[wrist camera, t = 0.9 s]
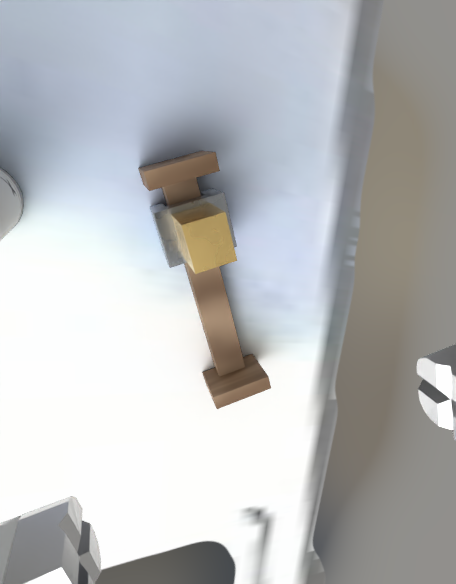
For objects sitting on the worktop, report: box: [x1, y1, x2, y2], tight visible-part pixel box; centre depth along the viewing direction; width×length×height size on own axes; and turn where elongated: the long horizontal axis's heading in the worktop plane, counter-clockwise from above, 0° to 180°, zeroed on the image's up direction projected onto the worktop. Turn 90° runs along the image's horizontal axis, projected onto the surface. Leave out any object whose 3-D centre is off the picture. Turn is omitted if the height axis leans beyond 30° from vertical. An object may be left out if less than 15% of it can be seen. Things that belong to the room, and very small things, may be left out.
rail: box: [139, 151, 271, 409], centre depth 40 cm, size 24×6×5 cm, turn 14°
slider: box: [150, 189, 237, 274], centre depth 35 cm, size 5×6×9 cm
